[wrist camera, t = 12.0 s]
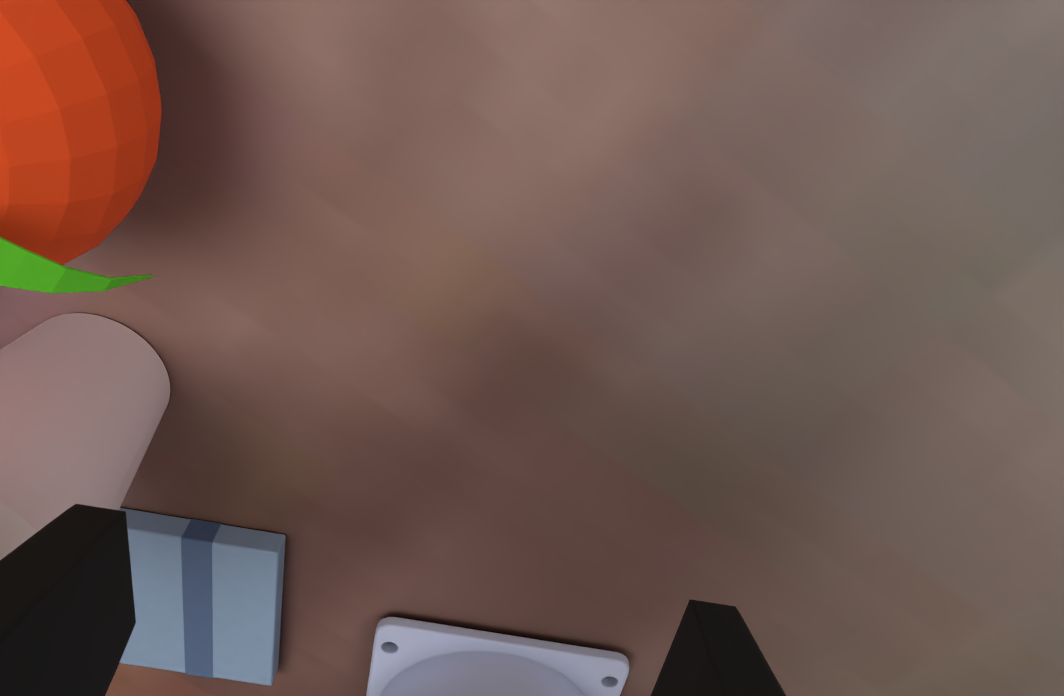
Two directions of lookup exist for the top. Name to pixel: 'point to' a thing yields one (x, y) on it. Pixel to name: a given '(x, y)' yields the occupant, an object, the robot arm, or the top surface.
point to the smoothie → (73, 419)
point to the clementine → (71, 136)
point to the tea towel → (205, 597)
